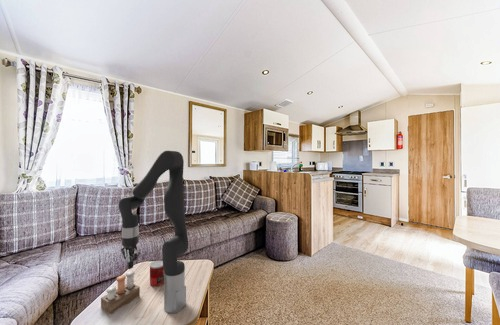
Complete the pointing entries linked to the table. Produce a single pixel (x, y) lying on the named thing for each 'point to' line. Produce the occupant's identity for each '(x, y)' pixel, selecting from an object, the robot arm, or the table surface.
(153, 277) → the canned food
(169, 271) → the robot arm
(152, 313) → the table surface
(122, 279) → the plug terracotta
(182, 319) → the table surface
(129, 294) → the walnut block
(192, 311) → the table surface
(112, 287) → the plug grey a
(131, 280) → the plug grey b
